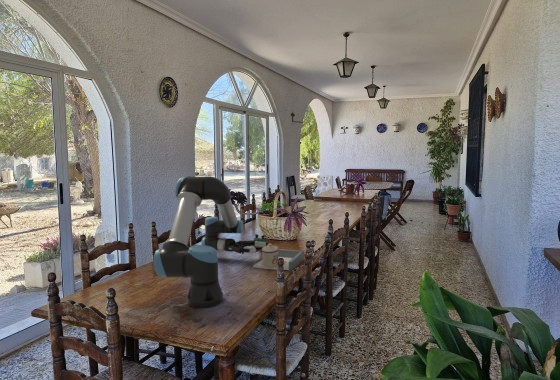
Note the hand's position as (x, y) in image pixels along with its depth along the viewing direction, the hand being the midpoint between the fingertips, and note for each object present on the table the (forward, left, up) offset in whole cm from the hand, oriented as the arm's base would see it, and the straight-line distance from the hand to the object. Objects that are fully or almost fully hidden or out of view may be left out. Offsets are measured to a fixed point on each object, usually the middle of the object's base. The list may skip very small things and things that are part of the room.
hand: (260, 247), depth 212 cm
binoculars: (+25, +10, -9) cm, 28 cm away
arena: (+3, -10, -9) cm, 14 cm away
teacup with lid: (-2, -7, -8) cm, 11 cm away
